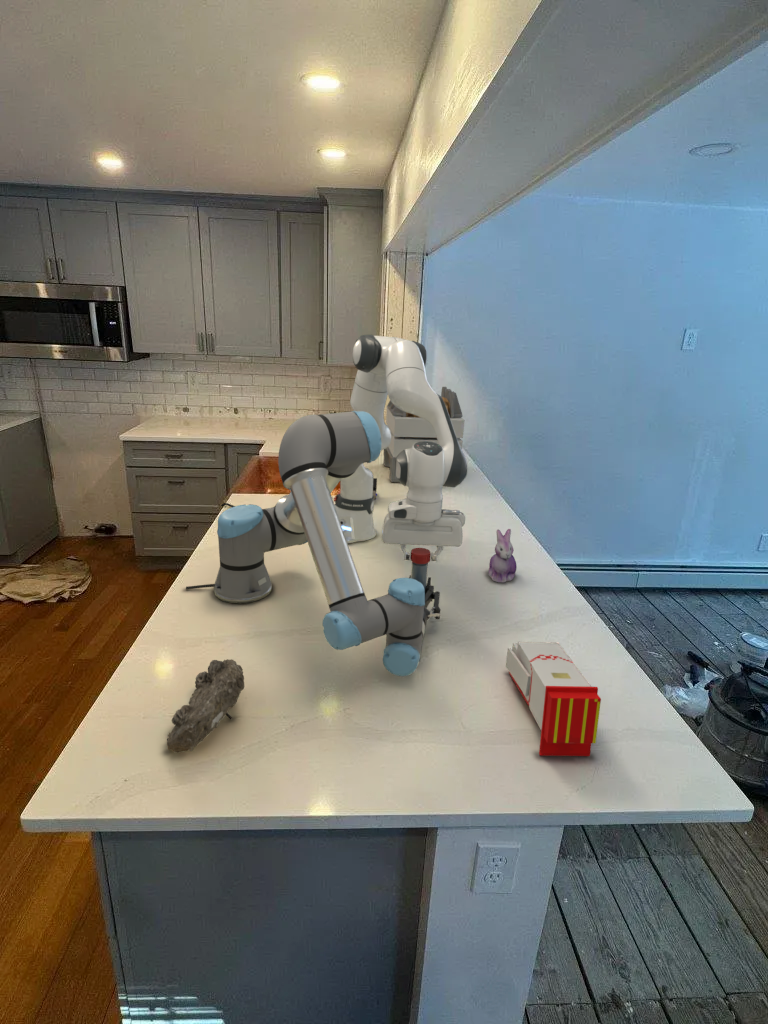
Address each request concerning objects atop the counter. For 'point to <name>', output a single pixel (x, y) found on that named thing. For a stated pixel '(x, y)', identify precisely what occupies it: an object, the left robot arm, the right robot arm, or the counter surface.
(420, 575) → the bottle
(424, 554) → the lid
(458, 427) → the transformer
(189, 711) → the fossil
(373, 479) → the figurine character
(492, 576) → the figurine
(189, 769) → the counter surface
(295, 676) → the counter surface
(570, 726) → the toy
